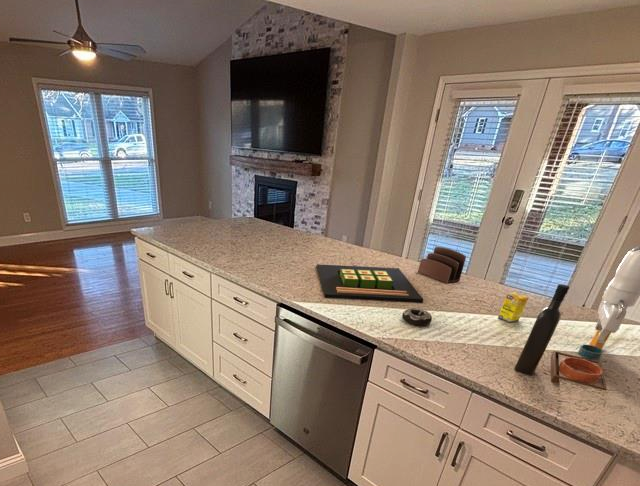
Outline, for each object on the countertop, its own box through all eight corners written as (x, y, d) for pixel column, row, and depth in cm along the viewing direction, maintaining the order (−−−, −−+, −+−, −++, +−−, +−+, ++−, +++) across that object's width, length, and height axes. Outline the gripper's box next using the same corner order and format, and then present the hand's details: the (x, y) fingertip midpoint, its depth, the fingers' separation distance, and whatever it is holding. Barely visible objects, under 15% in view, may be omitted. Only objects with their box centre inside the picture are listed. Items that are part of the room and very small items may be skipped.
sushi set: (324, 297, 190) (325, 288, 187) (316, 267, 227) (317, 259, 225) (422, 302, 189) (424, 293, 187) (397, 271, 227) (399, 263, 225)
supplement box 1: (497, 318, 178) (506, 293, 172) (506, 315, 180) (515, 292, 174) (509, 323, 173) (519, 299, 167) (518, 321, 176) (529, 296, 170)
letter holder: (429, 270, 231) (436, 244, 223) (459, 281, 217) (468, 254, 209) (417, 272, 227) (423, 246, 219) (447, 283, 213) (455, 256, 205)
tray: (597, 368, 144) (600, 362, 143) (602, 395, 130) (606, 389, 128) (550, 356, 150) (553, 350, 149) (550, 381, 135) (554, 375, 134)
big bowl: (593, 376, 139) (601, 363, 137) (596, 391, 131) (604, 378, 128) (555, 366, 144) (562, 354, 141) (556, 381, 136) (562, 368, 133)
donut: (432, 329, 166) (435, 319, 164) (402, 325, 168) (404, 316, 166) (428, 317, 176) (430, 308, 173) (400, 314, 177) (402, 305, 175)
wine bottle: (535, 370, 141) (576, 286, 125) (531, 376, 138) (573, 290, 121) (517, 364, 144) (555, 281, 128) (513, 370, 141) (551, 285, 124)
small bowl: (596, 358, 150) (602, 347, 148) (597, 366, 145) (604, 355, 143) (574, 353, 153) (580, 342, 150) (575, 361, 148) (581, 350, 146)
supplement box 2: (602, 349, 157) (616, 325, 151) (593, 348, 157) (606, 324, 152) (598, 345, 159) (611, 321, 154) (588, 344, 160) (601, 320, 154)
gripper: (636, 309, 127) (613, 348, 135) (627, 290, 142) (606, 326, 150) (612, 304, 130) (590, 343, 137) (605, 285, 144) (586, 321, 152)
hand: (598, 334), depth 144 cm, fingers open, 8 cm apart
